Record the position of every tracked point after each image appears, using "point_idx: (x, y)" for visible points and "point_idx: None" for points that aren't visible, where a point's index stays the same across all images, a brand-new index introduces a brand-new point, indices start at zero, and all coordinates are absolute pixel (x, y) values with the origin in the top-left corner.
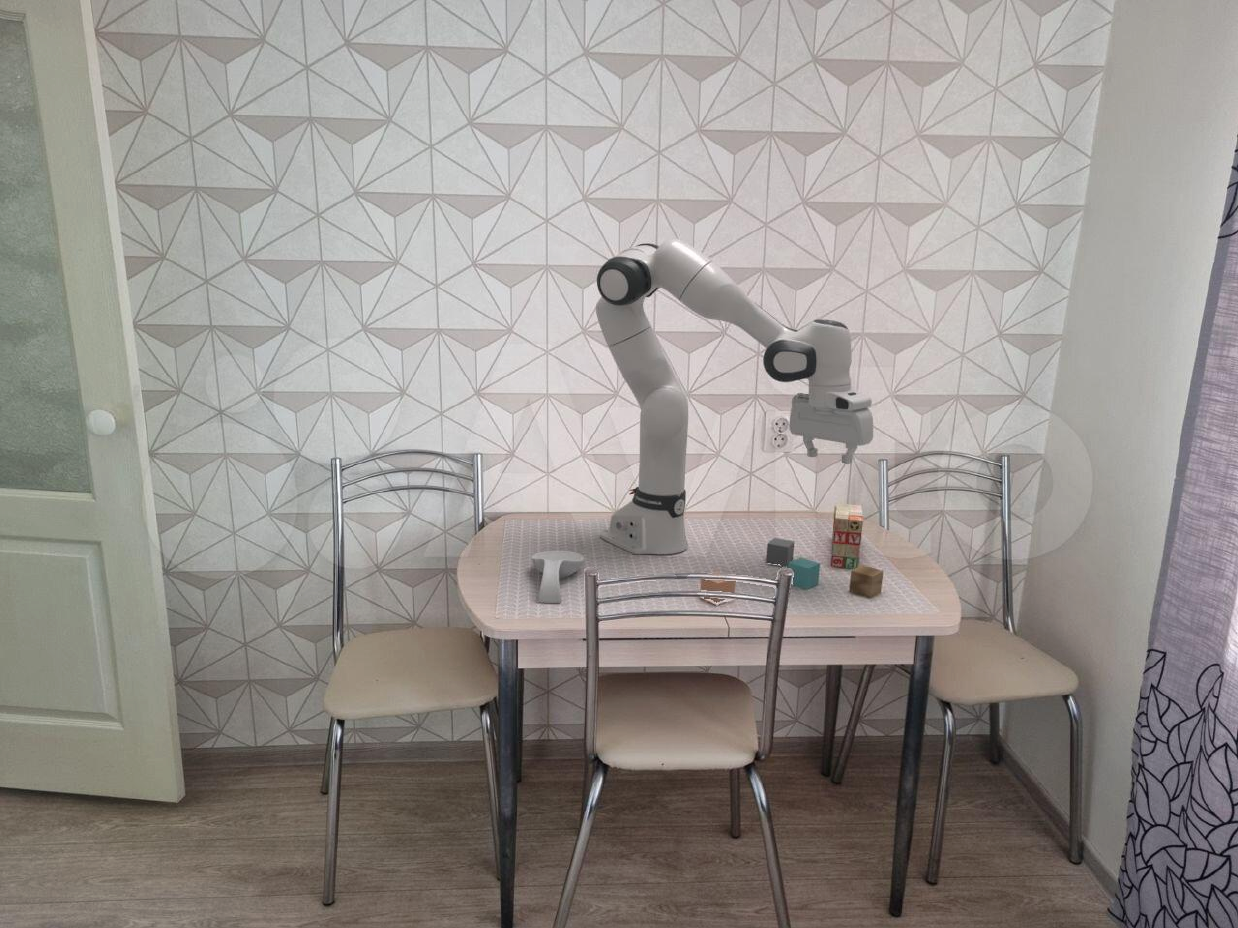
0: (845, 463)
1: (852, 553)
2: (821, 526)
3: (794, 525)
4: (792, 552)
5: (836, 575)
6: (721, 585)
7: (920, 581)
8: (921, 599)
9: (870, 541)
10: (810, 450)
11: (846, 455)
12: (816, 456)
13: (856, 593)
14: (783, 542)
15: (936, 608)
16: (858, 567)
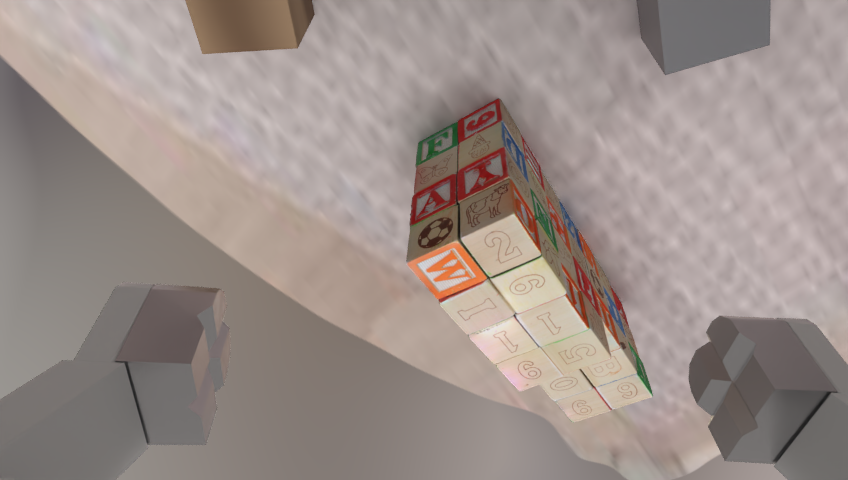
0: (163, 286)
1: (435, 164)
2: None
3: (774, 318)
4: (650, 38)
5: (434, 37)
6: None
7: (233, 198)
8: (114, 69)
9: None
10: (801, 379)
11: (78, 368)
12: (691, 363)
13: None
14: (704, 22)
15: (28, 36)
16: (284, 5)
